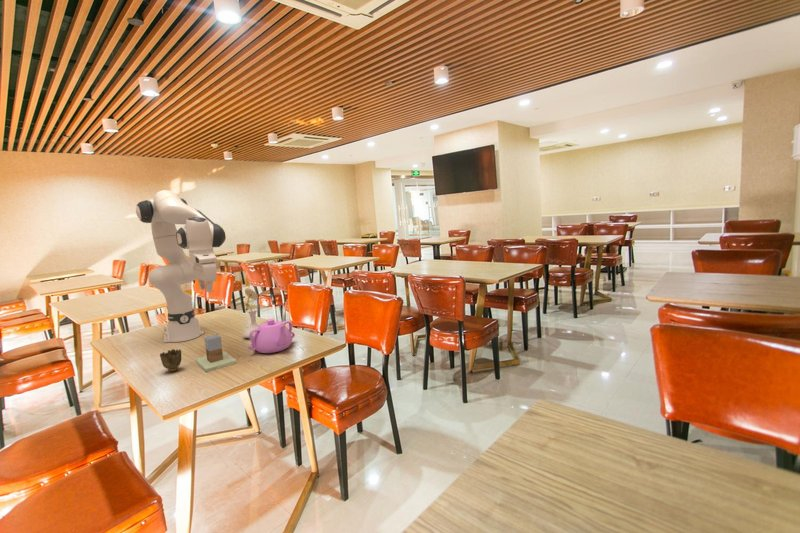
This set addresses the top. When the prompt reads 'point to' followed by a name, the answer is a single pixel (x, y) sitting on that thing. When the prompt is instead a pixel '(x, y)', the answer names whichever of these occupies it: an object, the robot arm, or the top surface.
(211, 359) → the walnut block
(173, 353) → the dark brown round piece
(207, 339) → the slate block
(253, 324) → the flower in vase
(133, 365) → the top surface
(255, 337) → the teapot
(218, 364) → the base plate
